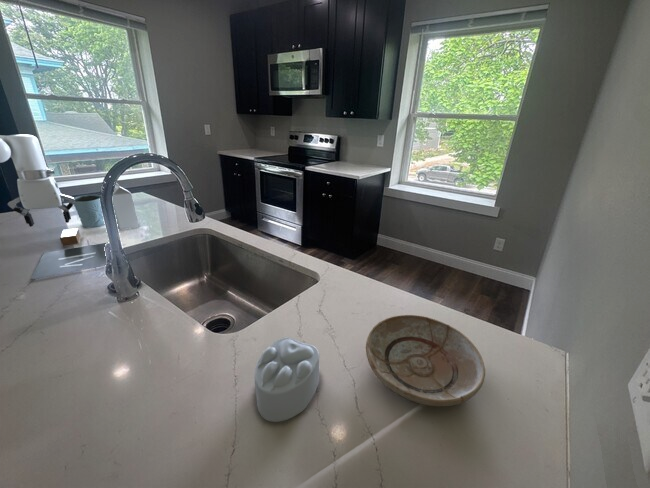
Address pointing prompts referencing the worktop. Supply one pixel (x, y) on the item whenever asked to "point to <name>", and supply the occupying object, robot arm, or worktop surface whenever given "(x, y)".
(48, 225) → the worktop surface
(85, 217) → the blue-grey cup
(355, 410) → the worktop surface
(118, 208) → the milk carton
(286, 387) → the lumpy-topped squat cylinder
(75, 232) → the eraser
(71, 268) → the chalkboard
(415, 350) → the ceramic bowl
